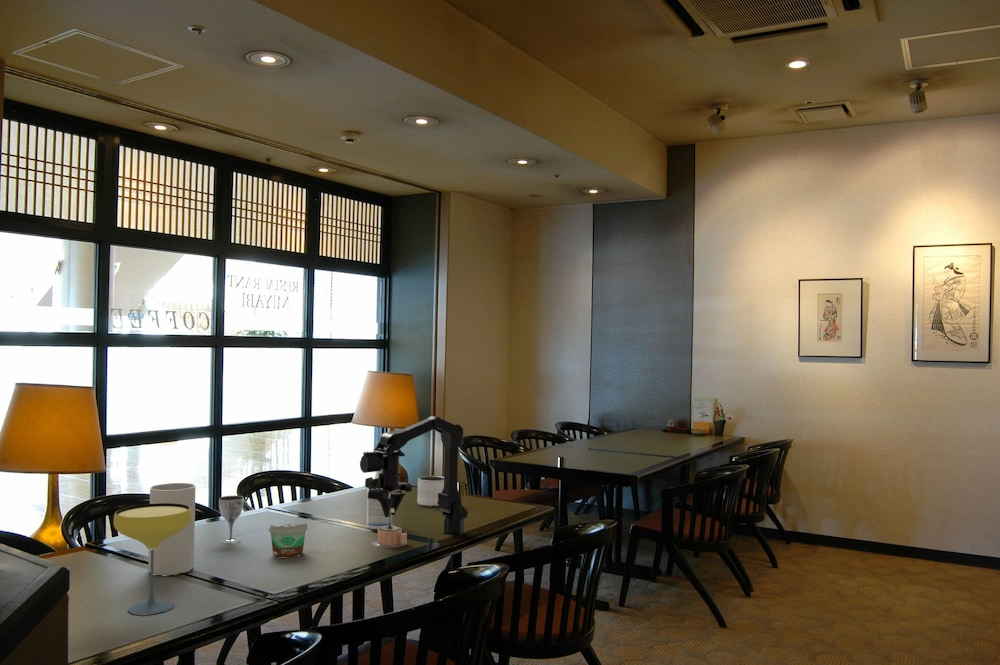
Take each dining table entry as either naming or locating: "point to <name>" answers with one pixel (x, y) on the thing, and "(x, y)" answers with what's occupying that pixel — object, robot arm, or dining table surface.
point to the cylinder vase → (179, 547)
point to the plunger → (390, 518)
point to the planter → (429, 490)
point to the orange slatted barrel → (391, 536)
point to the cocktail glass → (152, 537)
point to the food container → (288, 540)
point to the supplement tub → (376, 514)
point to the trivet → (386, 546)
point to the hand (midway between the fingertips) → (389, 516)
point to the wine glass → (231, 510)
